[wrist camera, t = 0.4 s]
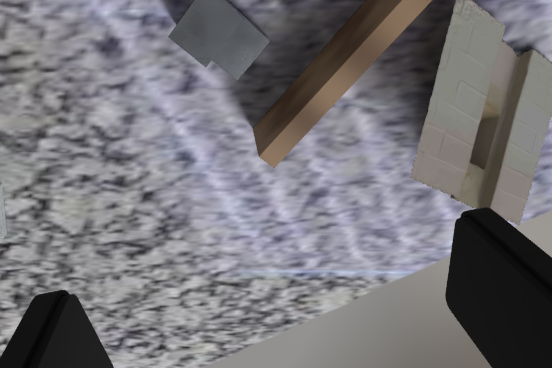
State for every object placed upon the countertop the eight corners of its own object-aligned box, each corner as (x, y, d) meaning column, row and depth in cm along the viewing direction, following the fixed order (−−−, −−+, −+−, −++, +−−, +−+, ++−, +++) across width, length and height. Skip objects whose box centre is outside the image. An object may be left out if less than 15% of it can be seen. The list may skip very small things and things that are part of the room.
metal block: (207, -19, 29) (205, -16, 23) (267, 37, 31) (277, 50, 26) (176, 25, 30) (168, 36, 25) (236, 75, 32) (240, 95, 27)
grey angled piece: (374, 36, 36) (355, 186, 32) (458, -17, 29) (446, 170, 25) (476, 100, 44) (470, 228, 40) (564, 72, 36) (566, 225, 33)
